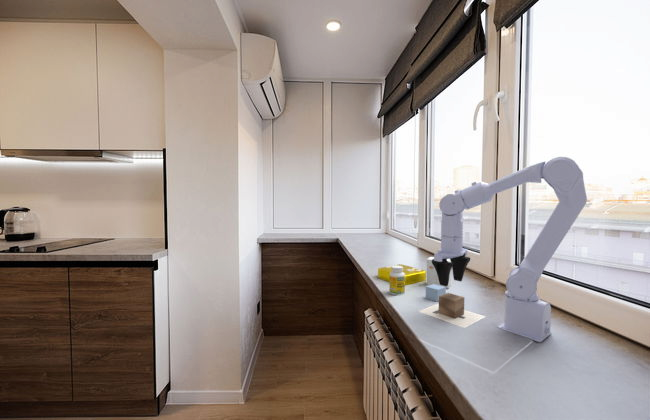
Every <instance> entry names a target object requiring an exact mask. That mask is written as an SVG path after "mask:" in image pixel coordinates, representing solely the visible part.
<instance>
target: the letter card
mask: <svg viewBox="0 0 650 420" xmlns="http://www.w3.org/2000/svg"><path fill="white" fill-rule="evenodd" d="M418 312H419V313H422V314H424V315H428V316H431V317H433V318H436V319H439V320H441V321H444V322H447V323H450V324H453V325H455V326H458V327H461V328H463V329H465V328H468V327H469V326H472V325H473V324H475V323H476V322H478V321H480V320H482V319H485V318H486V315H482V314H479V313H475V312H472V311H470V310H466V309H464V315H462V316H460V317H457V318H455V319H454V318H451V317H449V316H446V315H443V314H440V313H439V302H437V303H434V304H433V305H431V306H427V307H426V308H423V309H420V310H418Z"/></svg>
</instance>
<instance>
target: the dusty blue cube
mask: <svg viewBox="0 0 650 420" xmlns="http://www.w3.org/2000/svg"><path fill="white" fill-rule="evenodd" d="M446 290H447V289H446V287H443V286H439V285H435V284H432V285H426V286H425V299H427V300H431V301H433V302H437V303H439V296H441V295H443V294H446V293H447V291H446Z"/></svg>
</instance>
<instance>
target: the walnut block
mask: <svg viewBox="0 0 650 420" xmlns="http://www.w3.org/2000/svg"><path fill="white" fill-rule="evenodd" d="M438 303H439V313H440V314H443V315H446V316H449V317H451V318H454V319H455V318H457V317H460V316H462V315H464V310H465V296H461V295H457V294H453V293H450V292H446V294H443V295H441V296H439V302H438Z"/></svg>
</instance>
